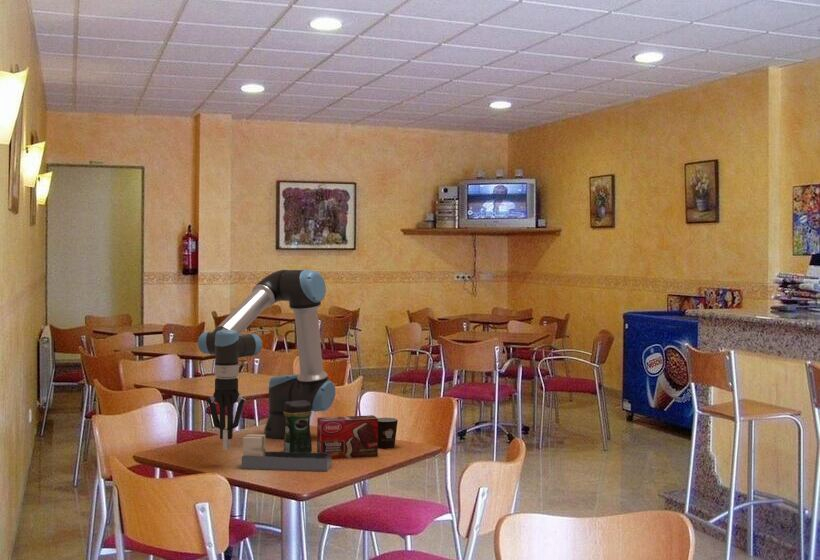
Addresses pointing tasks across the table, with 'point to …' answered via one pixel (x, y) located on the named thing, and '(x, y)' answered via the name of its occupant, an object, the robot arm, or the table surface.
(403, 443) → the table surface
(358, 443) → the ice cream box
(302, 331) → the robot arm
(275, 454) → the chute
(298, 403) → the coffee jar
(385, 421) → the coffee mug
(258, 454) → the block
